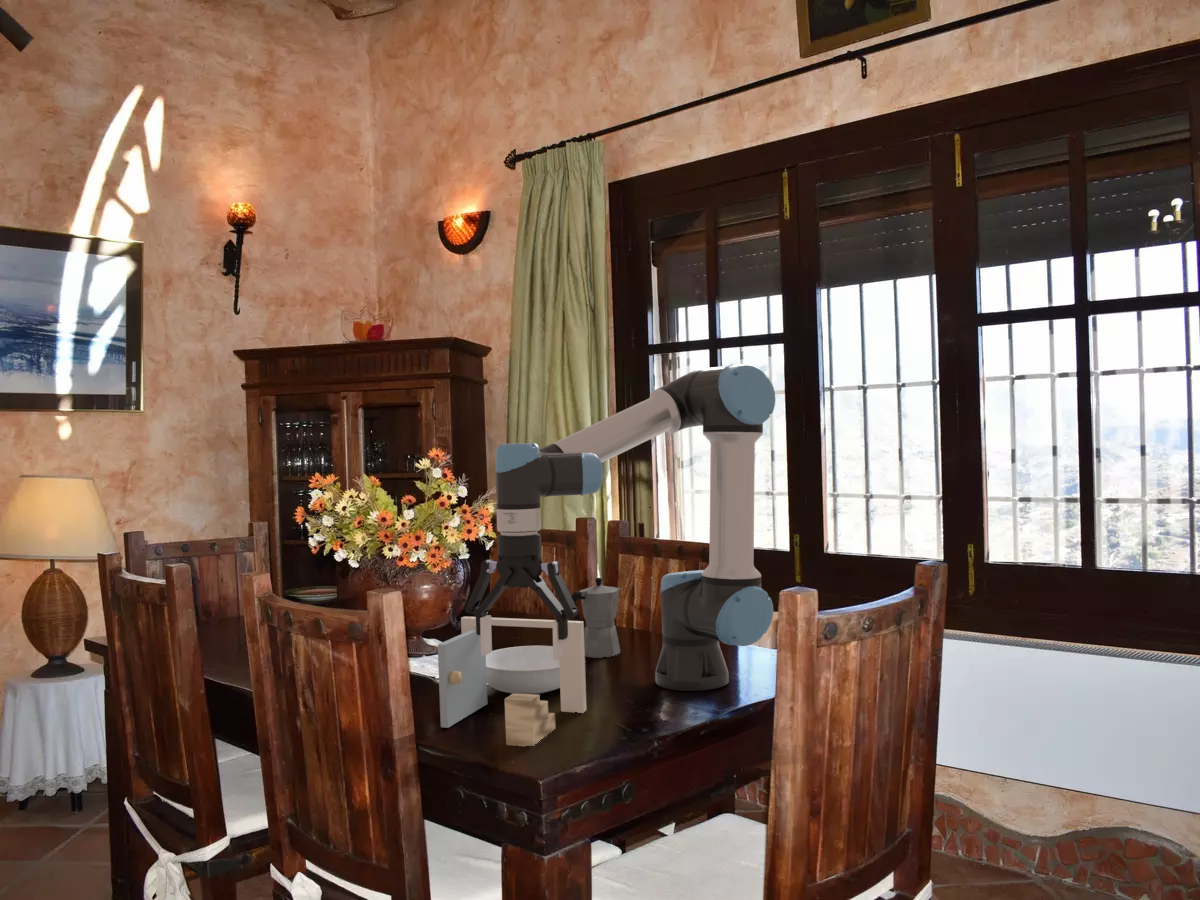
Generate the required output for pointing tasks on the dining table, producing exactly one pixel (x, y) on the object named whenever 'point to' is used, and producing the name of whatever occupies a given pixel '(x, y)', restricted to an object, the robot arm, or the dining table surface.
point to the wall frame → (569, 664)
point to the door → (461, 677)
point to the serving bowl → (523, 670)
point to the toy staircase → (527, 719)
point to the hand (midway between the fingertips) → (522, 656)
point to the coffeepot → (599, 619)
